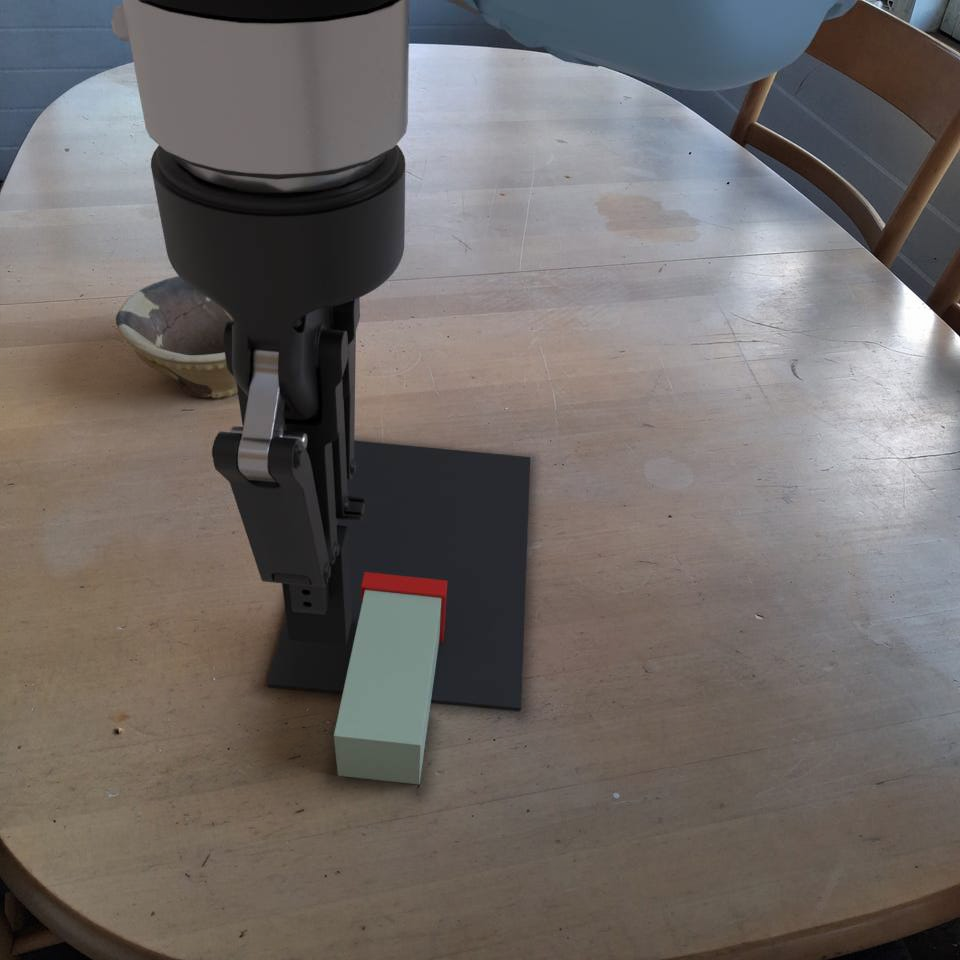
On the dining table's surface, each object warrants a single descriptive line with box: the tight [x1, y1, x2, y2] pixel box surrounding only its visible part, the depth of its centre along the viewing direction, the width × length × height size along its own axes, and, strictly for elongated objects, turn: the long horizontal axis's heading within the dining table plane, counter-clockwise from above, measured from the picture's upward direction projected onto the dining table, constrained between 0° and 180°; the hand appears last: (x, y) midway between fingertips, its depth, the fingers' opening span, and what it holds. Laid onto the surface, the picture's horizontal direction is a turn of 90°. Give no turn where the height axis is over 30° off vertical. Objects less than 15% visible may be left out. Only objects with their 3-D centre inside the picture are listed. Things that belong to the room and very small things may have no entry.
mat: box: [266, 440, 531, 712], centre depth 82 cm, size 30×20×1 cm, turn 176°
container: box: [333, 572, 447, 785], centre depth 69 cm, size 7×7×14 cm
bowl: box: [115, 275, 238, 399], centre depth 96 cm, size 18×18×10 cm
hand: (320, 629), depth 43 cm, fingers closed
